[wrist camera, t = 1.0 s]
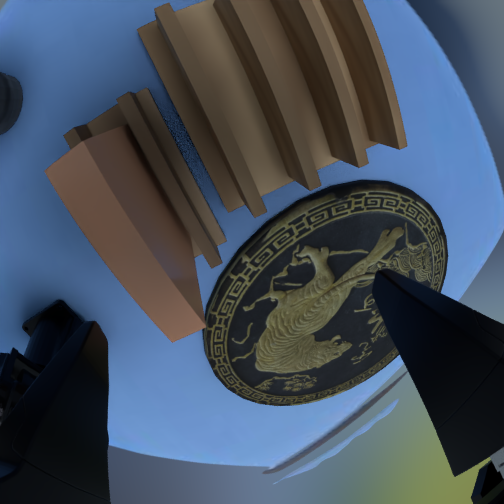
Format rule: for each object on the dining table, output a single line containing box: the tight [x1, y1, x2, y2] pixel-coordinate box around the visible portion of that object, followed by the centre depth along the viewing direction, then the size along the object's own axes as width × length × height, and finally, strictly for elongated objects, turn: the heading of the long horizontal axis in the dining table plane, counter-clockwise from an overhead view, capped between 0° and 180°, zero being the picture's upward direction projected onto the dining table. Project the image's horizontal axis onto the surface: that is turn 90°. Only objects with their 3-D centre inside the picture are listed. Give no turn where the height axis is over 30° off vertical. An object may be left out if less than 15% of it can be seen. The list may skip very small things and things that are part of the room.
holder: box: [63, 87, 227, 269], centre depth 17 cm, size 6×12×3 cm, turn 23°
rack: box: [137, 0, 407, 218], centre depth 15 cm, size 14×14×4 cm
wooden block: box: [44, 124, 206, 343], centre depth 14 cm, size 2×9×9 cm, turn 23°
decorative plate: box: [202, 180, 448, 406], centre depth 29 cm, size 30×2×30 cm
